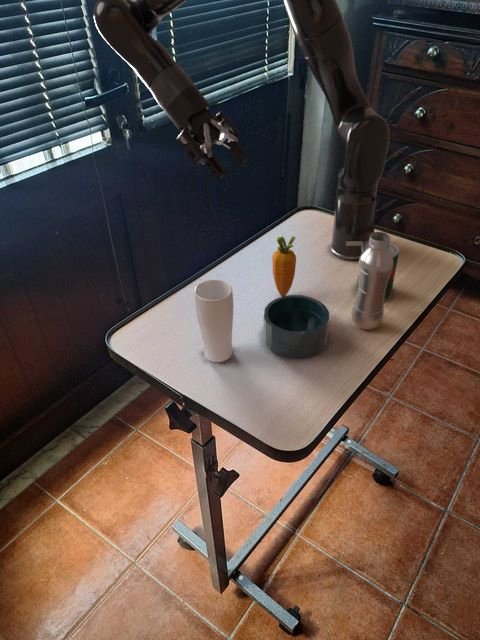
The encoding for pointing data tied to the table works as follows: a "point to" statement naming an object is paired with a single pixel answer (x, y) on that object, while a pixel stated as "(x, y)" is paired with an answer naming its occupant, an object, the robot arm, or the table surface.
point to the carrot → (284, 266)
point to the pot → (296, 326)
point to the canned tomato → (394, 253)
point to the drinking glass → (215, 318)
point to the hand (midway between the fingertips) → (233, 168)
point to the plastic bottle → (372, 282)
